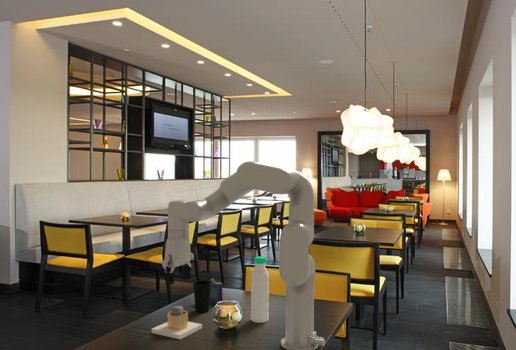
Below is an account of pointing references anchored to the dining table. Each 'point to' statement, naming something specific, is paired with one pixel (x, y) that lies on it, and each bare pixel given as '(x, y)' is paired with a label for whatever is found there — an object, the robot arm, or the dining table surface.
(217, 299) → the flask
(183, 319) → the collar
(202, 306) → the cup
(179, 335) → the stand
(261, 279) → the water bottle
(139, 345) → the dining table surface
